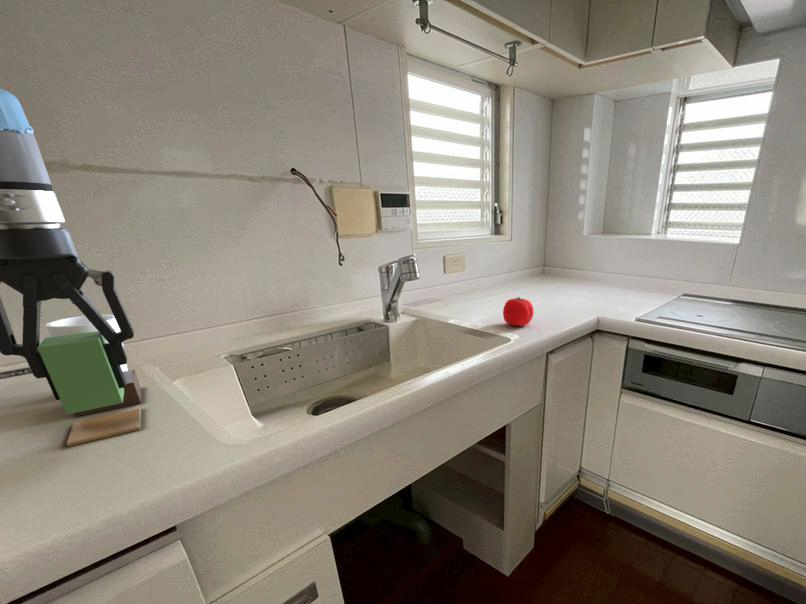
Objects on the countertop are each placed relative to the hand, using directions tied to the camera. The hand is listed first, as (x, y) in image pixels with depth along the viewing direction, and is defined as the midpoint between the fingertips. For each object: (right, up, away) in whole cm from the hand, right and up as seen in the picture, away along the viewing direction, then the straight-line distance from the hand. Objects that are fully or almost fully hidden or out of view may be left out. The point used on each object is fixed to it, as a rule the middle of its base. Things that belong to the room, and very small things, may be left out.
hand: (92, 390), depth 60 cm
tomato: (+67, +18, +63) cm, 93 cm away
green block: (0, -2, +1) cm, 2 cm away
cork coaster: (0, -6, +2) cm, 6 cm away
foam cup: (-15, 0, +18) cm, 23 cm away
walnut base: (-8, -2, +11) cm, 14 cm away
